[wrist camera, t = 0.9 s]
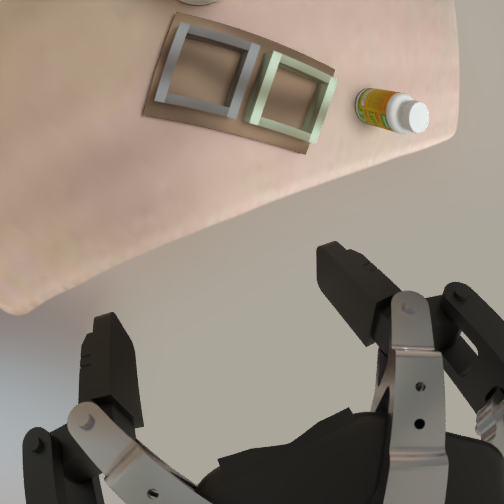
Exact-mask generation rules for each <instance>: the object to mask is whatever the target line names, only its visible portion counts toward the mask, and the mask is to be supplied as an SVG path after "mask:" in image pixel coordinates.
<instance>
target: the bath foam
mask: <svg viewBox="0 0 504 504" xmlns="http://www.w3.org/2000/svg"><path fill="white" fill-rule="evenodd" d="M180 1H182V2H184V3H187V4H191V5H206V4H210V3H213V2H216V1H218V0H180Z"/></svg>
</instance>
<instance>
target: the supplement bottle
mask: <svg viewBox="0 0 504 504" xmlns="http://www.w3.org/2000/svg"><path fill="white" fill-rule="evenodd" d="M356 112H357V115H358V116H359V118H360V119H361V120H362V121H363V122H365V123H367V124H370V125H373V126H377V127H380V128H384V129H387V130H390V131H393V132H397V133H401V134H404V133H408V132H410V131H411V132H414V133H422V132H423V131H424V130H425V129H426V128H427V125H428V122H429V112H428V109H427V107H426V105H425V104H424V103H422V102H419V101H415V100H413V99H412V98H411V97H410V96H409V95H407V94H404V93H400V92H393V91H387V90H380V89H373V88H367V89H364V90H363V91H361V92H360V94H359V95H358V97H357V100H356Z"/></svg>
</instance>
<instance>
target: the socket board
mask: <svg viewBox="0 0 504 504" xmlns="http://www.w3.org/2000/svg"><path fill="white" fill-rule="evenodd" d="M334 72H335V69H333V68H331V67H329V66H327V65H325V64H323V63H321V62H319V61H317V60H315V59H313V58H311V57H308V56H306V55H304V54H302V53H300V52H297V51H295V50H293V49H290V48H288V47H286V46H283V45H281V44H279V43H276V42H274V41H271V40H268V39H266V38H263V37H260V36H258V35H255V34H252V33H249V32H246V31H244V30H241V29H237V28H234V27H231V26H228V25H225V24H221V23H218V22H215V21H211V20H207V19H204V18H200V17H196V16H192V15H187V14H183V13H178V12H176V14H175V17H174V19H173V22H172V24H171V27H170V30H169V32H168V35H167V38H166V40H165V43H164V46H163V49H162V52H161V55H160V58H159V61H158V64H157V67H156V70H155V73H154V77H153V80H152V83H151V87H150V90H149V94H148V97H147V101H146V105H145V108H144V112H143V115H146V116H152V117H158V118H163V119H168V120H174V121H179V122H184V123H189V124H193V125H198V126H202V127H207V128H211V129H215V130H220V131H224V132H228V133H232V134H236V135H240V136H244V137H247V138H251V139H255V140H258V141H262V142H265V143H269V144H272V145H276V146H279V147H282V148H286V149H289V150H292V151H295V152H298V153H302V154H305V155H306V152H307V149H308V147H309V144H310V143H313V144H316V142H317V139H318V136H319V133H320V130H321V128H322V125H323V122H324V119H325V116H326V113H327V110H328V107H329V105H330V102H331V99H332V96H333V93H334V90H335V87H336V84H337V81H338V79H336V78H334V77H333V75H334Z"/></svg>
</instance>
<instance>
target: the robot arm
mask: <svg viewBox="0 0 504 504" xmlns="http://www.w3.org/2000/svg"><path fill="white" fill-rule="evenodd" d="M316 253H317V254H316V256H317V282H318V285H319V287H320V289H321V291H322V292H323V294H324V295H325V296H326V297H327V298H328V300H329V301H330V302H331V303H332V305H333V306H334V307H335V308H336V310H337V311H338V312H339V314H340V315H341V316H342V317H343V319H344V320H345V321H346V322H347V324H349V326H350V327H351V329H352V330H353V331H354V332H355V333H356V335H357V336H358V337H359V339H360V340H361V341H362V342H363V344H364V345H365V346H366V347H367V346H369V345H371V344H373V343H375V342H376V343H377V345H378V346H379V348H378V358H377V359H378V360H377V373H376V385H375V393H374V398H373V402H372V406H371V411H370V412H361V413H355V414H353V413H352V412H351V410H350V409H349V407H348V408H347V409H344V410H343V411H340V412H339V413H336V414H335V415H332V416H330V417H328V418H326V419H324V420H322V421H320V422H318V423H317V424H316V425H314V426H313V427H312V428H310V429H309V430H308V431H306V432H305V433H304V434H302V435H301V436H299V437H298V438H297V439H295V440H294V441H293V442H291V443H289V444H285V445H278V446H271V447H262V448H254V449H249V450H246V451H242V452H239V453H236V454H233V455H230V456H226V457H223V458H219V459H218V462H219V465H220V466H219V467H217V468H216V469H215V470H213V471H212V472H210V473H209V474H208V475H207V476H205V477H204V478H203V479H202V481H201V482H200V483H199V484H198V486H197V485H195V484H194V483H193V482H191V481H190V480H189V479H187V478H185V477H184V476H183V475H181V474H180V473H178V472H177V471H175V470H174V469H172V468H171V467H170V466H169V465H167V464H166V463H165V462H164V461H163V460H161V459H160V458H159V457H158V456H156V455H155V454H154V453H153V452H152V451H150V450H149V449H148V448H147V447H146V446H145V445H143V444H142V443H141V442H140V441H139V440H138V439H137V438H136V435H135V428H139V427H144V423H143V417H142V410H141V403H140V395H139V387H138V378H137V368H136V357H135V350H134V346H133V343H132V341H131V339H130V337H129V336H128V334H127V332H126V331H125V329H124V328H123V326H122V324H121V323H120V321H119V319H118V318H117V316H116V314H115V313H114V312H110V313H107V314H104V315H101V316H97V317H95V318H94V324H93V332H92V333H89V334H87V335H86V337H85V339H84V342H83V344H82V347H81V360H80V367H81V369H80V375H79V402H78V405H76V406H75V407H74V408H73V409H72V411H71V412H70V414H69V416H68V421H67V424H65V425H63V426H62V427H60V428H58V429H56V430H54V431H52V432H50V433H49V432H48V431H46V430H45V429H43V428H41V427H35V428H32V429H31V430H29V431H28V433H27V434H26V435H25V438H24V440H23V474H24V488H25V497H26V504H104V500H103V495H102V490H101V486H100V481H99V474H101V473H104V475H105V478H104V480H105V482H106V484H107V485H108V486H109V487H110V488H111V489H112V490H113V491H114V492H115V493H116V494H117V495H118V496H119V497H120V498H121V499H122V500H123V501H124V502H125V503H126V504H504V321H503V320H502V319H501V317H500V316H499V315H498V314H497V313H496V312H495V311H494V310H493V309H492V308H491V307H490V306H489V305H488V304H487V303H486V302H485V301H484V300H483V299H482V298H481V297H480V296H478V294H477V293H475V292H474V291H473V290H472V289H471V288H470V287H469V286H467V285H466V284H463V283H460V282H452V283H449V284H447V286H446V287H445V289H444V291H443V294H442V295H439V296H434V297H429V298H424V297H423V296H422V295H420V294H419V293H416V292H413V291H401V290H400V289H399V288H398V287H397V286H396V285H395V284H394V283H393V282H392V281H391V280H390V279H389V278H388V277H387V276H385V275H384V274H383V273H382V272H381V271H380V270H379V269H377V267H376V266H375V265H373V264H372V263H370V261H369V260H368V259H367V258H366V257H365V256H364V255H362V254H361V253H358V252H356V251H354V250H351V249H349V250H346V249H345V248H344V247H343V246H342V245H340V244H339V243H338V242H336V241H333V242H330V243H327V244H324V245H322V246H319V247H318V248H317V251H316ZM462 331H463V332H464V334H465V335H466V336H467V337H468V338H469V339H470V340H471V342H472V343H473V344H474V345H475V346H476V348H477V350H478V356H477V354H476V353H475V352H474V351H473V350H472V349H471V347H470V346H469V345H468V344H467V343H466V342H465V340H464V339H463V338H462V337H461V336H460V334H461V332H462ZM443 369H444V370H445V372H446V373H447V374H448V375H449V377H450V378H451V380H452V381H453V382H454V384H455V385H456V386H457V388H458V389H459V390H460V392H461V393H462V394H463V396H464V397H465V398H466V400H467V401H468V403H469V404H470V406H471V407H472V408H473V410H474V411H475V413H476V414H477V418H476V423H477V425H476V427H475V431H476V433H477V434H478V435H481V440H478V439H474V438H470V437H465V436H461V435H457V434H453V433H449V432H446V431H445V386H444V370H443Z"/></svg>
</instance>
